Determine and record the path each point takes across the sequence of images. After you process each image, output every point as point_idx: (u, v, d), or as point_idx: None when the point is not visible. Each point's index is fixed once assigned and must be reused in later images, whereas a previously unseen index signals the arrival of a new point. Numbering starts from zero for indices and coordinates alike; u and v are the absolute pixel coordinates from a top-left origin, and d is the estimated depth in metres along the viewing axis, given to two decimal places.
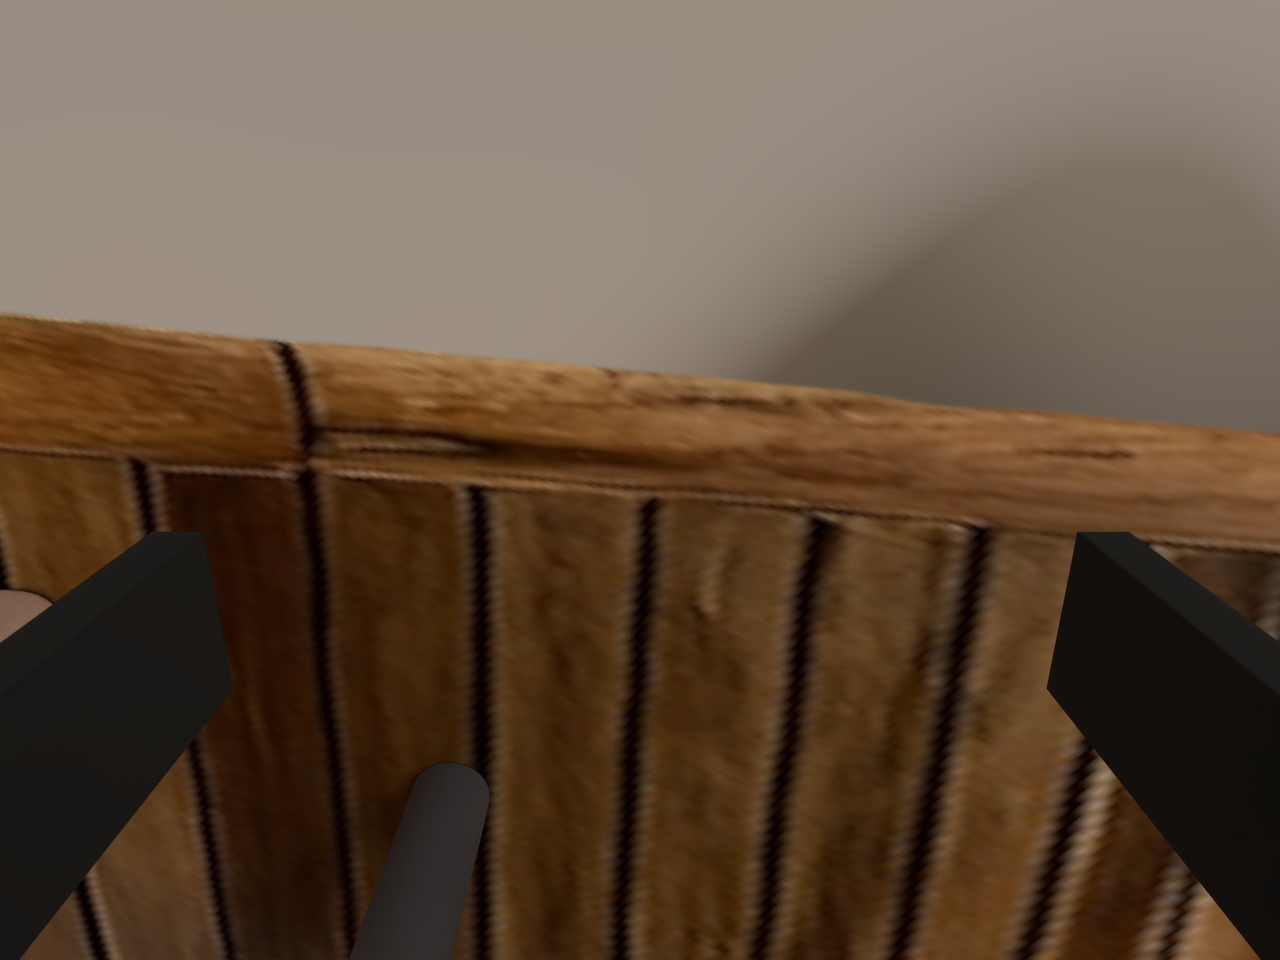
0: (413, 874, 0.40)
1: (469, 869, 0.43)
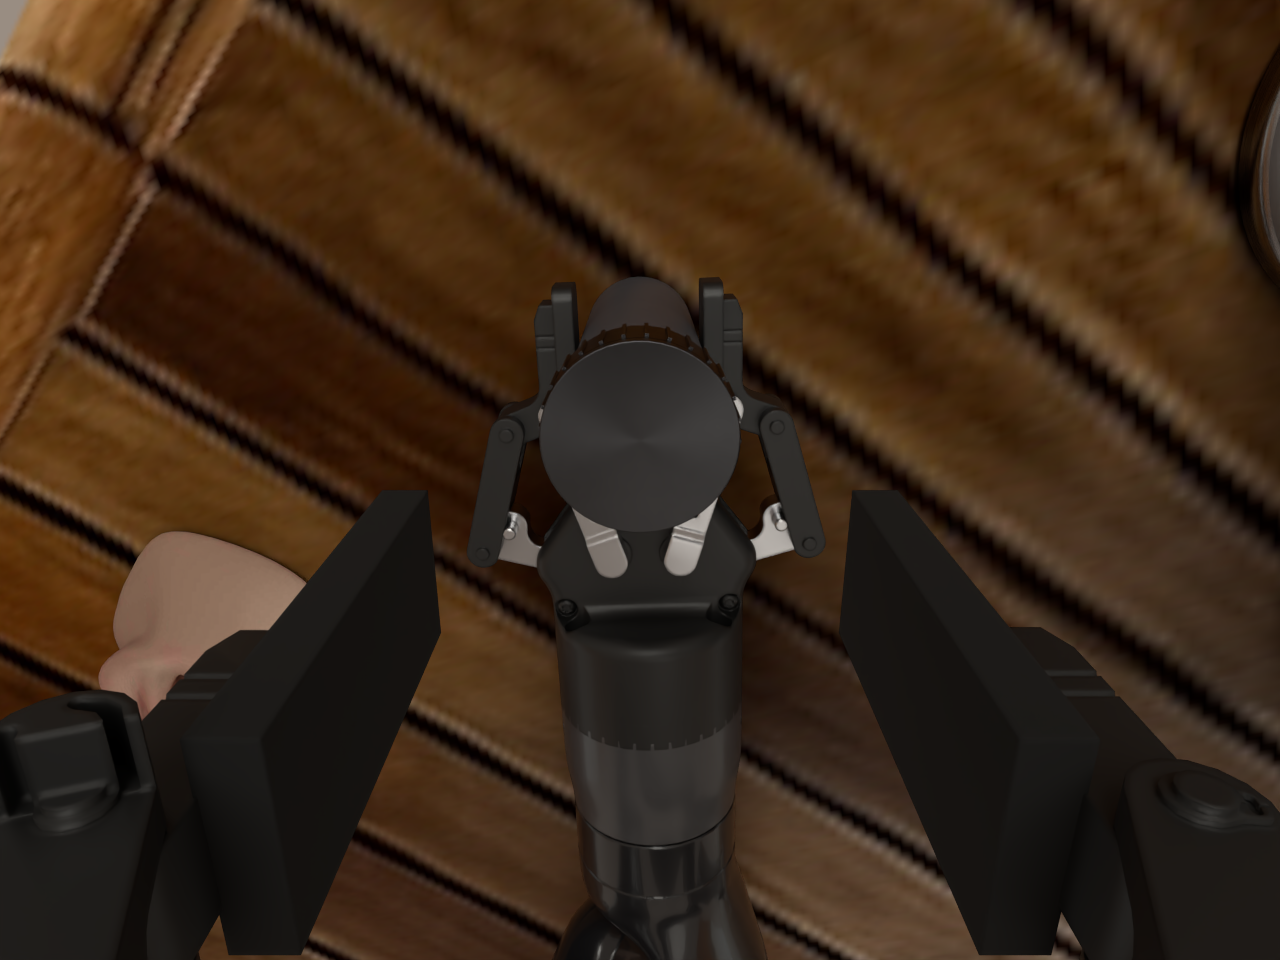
0: (586, 333, 0.28)
1: (667, 302, 0.30)
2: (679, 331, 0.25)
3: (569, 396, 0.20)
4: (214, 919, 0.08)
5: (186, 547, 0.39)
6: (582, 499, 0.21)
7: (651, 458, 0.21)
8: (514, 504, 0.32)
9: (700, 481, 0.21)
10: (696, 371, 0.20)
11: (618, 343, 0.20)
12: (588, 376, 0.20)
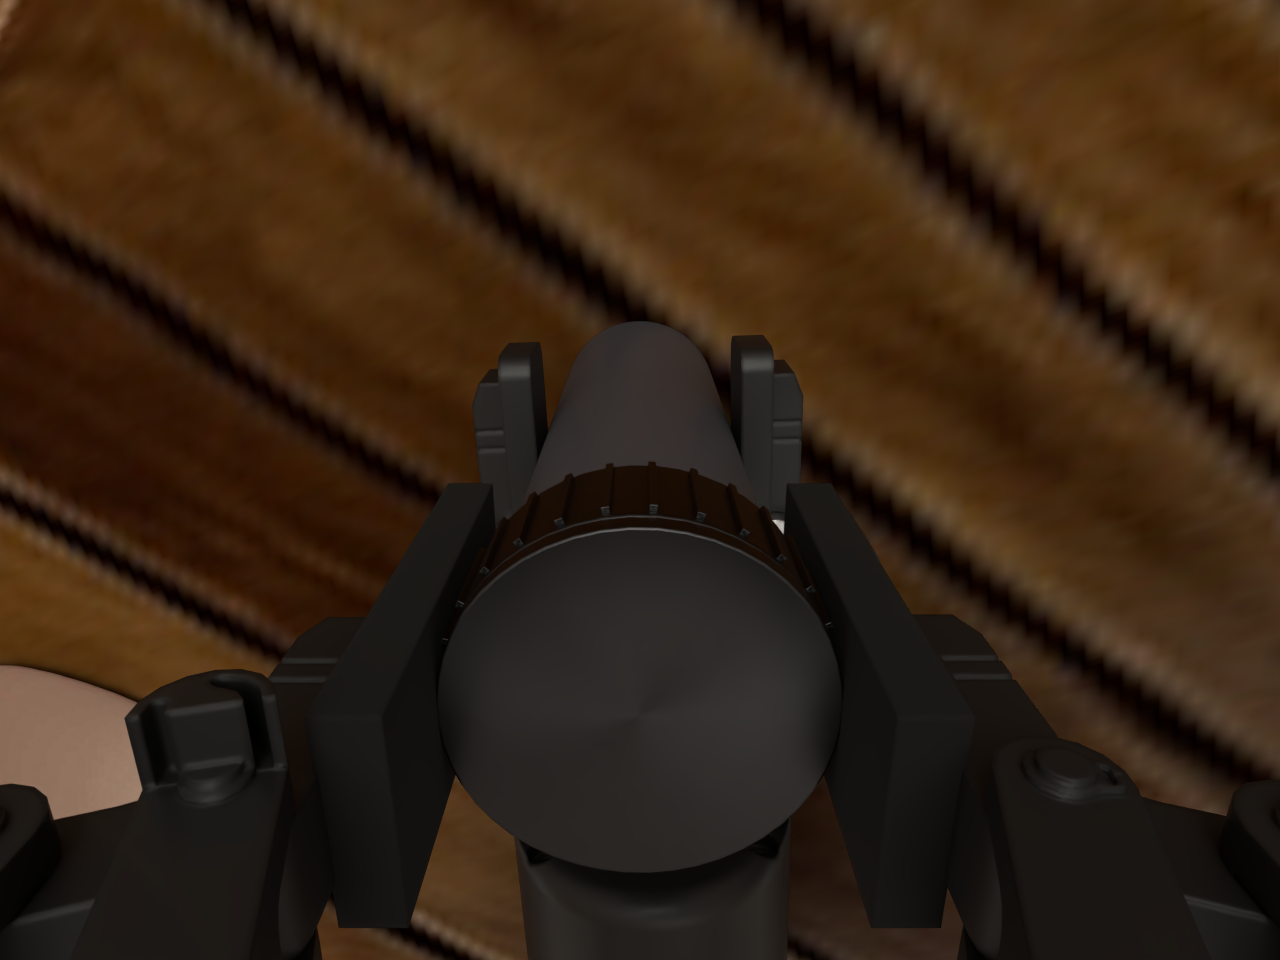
0: (552, 431, 0.17)
1: (683, 374, 0.19)
2: (708, 449, 0.14)
3: (494, 634, 0.10)
4: (329, 890, 0.09)
5: (14, 689, 0.28)
6: (526, 817, 0.11)
7: (663, 746, 0.10)
8: None
9: (760, 786, 0.11)
10: (758, 587, 0.10)
11: (594, 532, 0.10)
12: (532, 596, 0.10)
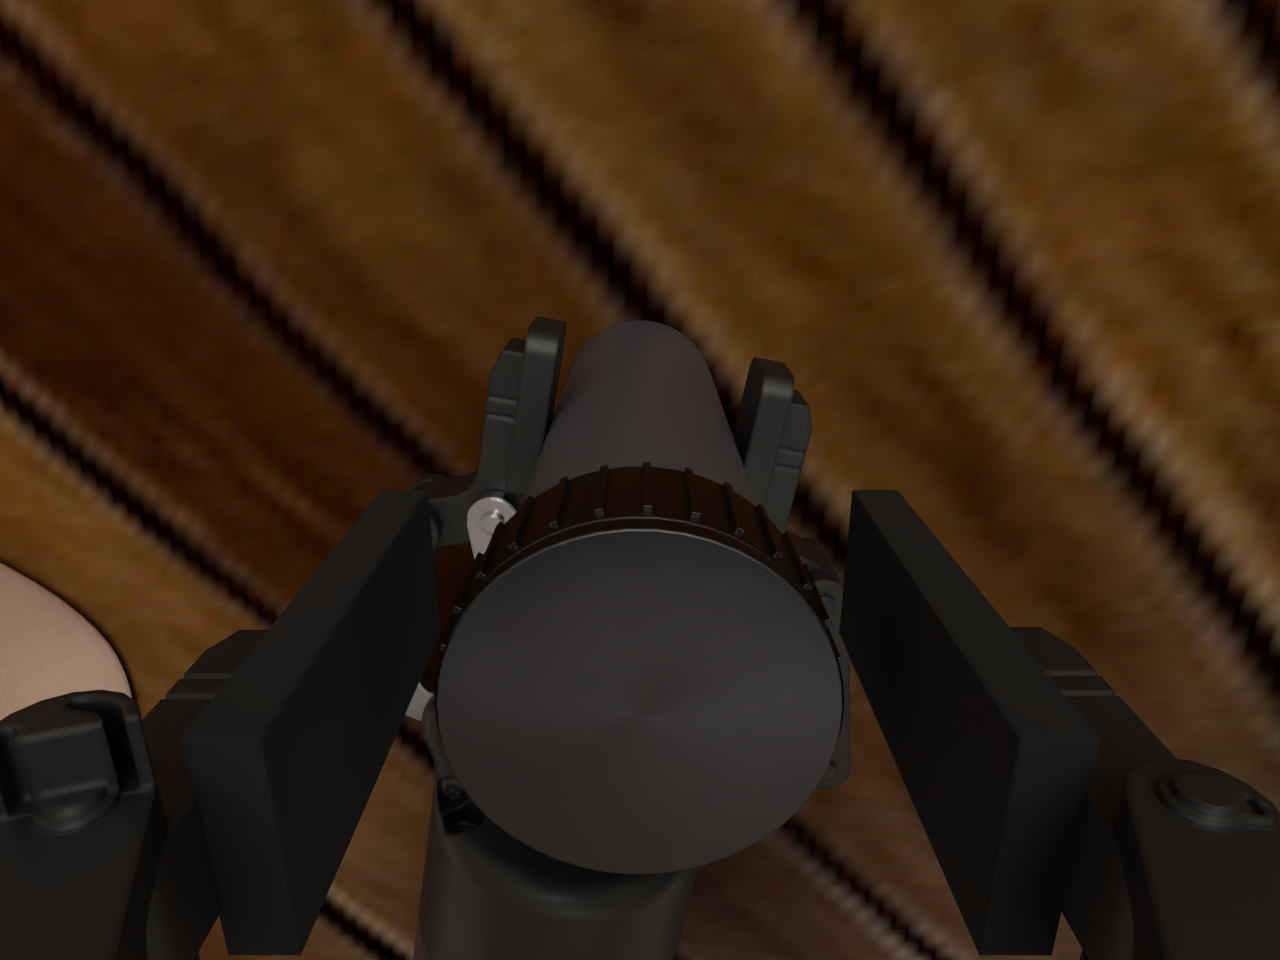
0: (568, 412, 0.17)
1: (699, 383, 0.19)
2: (729, 462, 0.14)
3: (484, 763, 0.11)
4: (213, 918, 0.08)
5: None
6: (667, 852, 0.11)
7: (683, 720, 0.10)
8: None
9: (788, 676, 0.10)
10: (588, 558, 0.10)
11: (450, 639, 0.10)
12: (472, 717, 0.10)
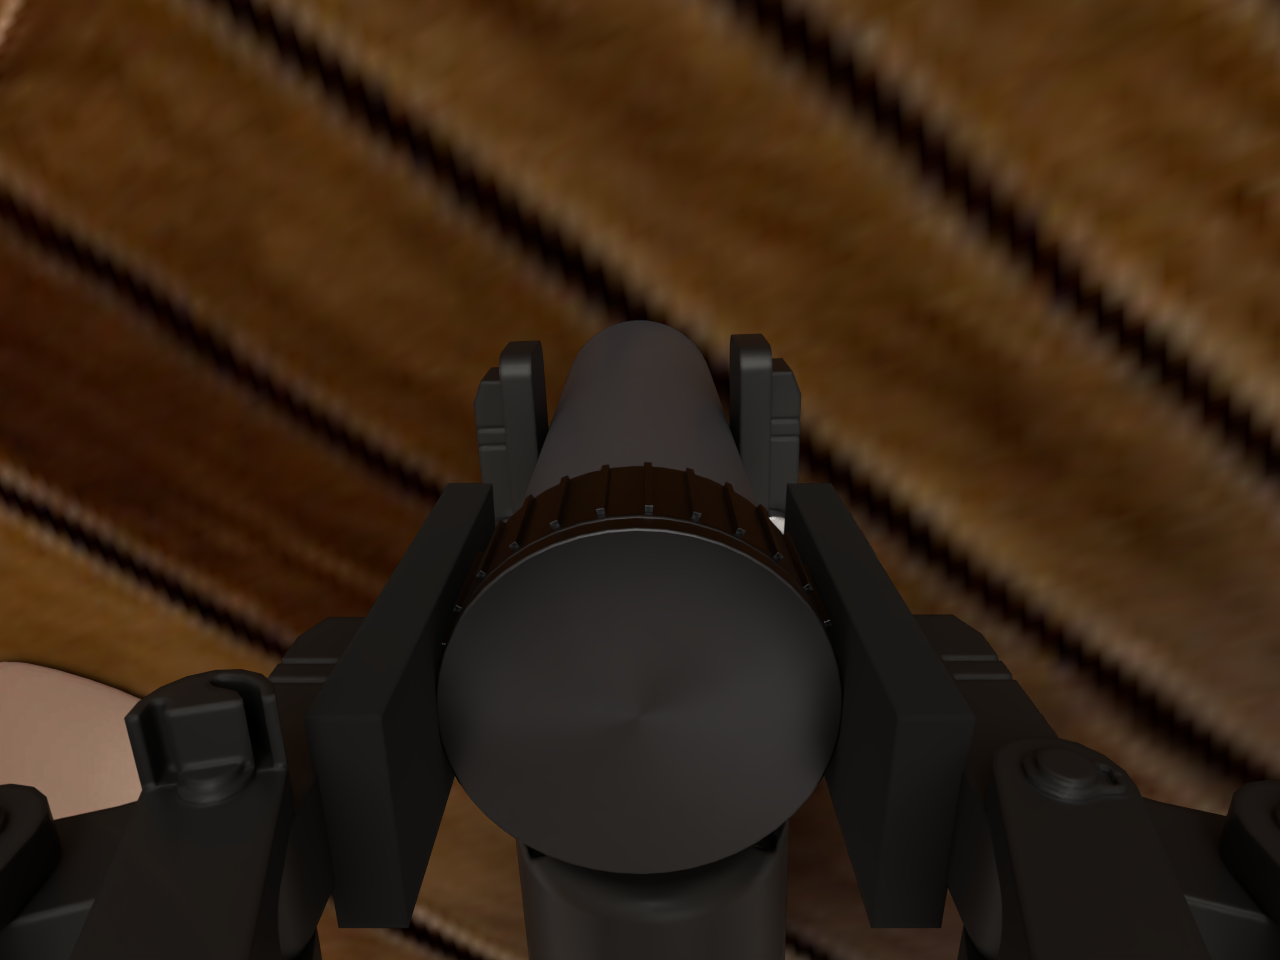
0: (553, 428, 0.17)
1: (682, 372, 0.19)
2: (707, 445, 0.14)
3: (501, 788, 0.11)
4: (329, 890, 0.09)
5: (18, 685, 0.28)
6: (701, 844, 0.11)
7: (683, 711, 0.10)
8: None
9: (775, 648, 0.10)
10: (548, 572, 0.10)
11: (439, 676, 0.10)
12: (478, 747, 0.10)
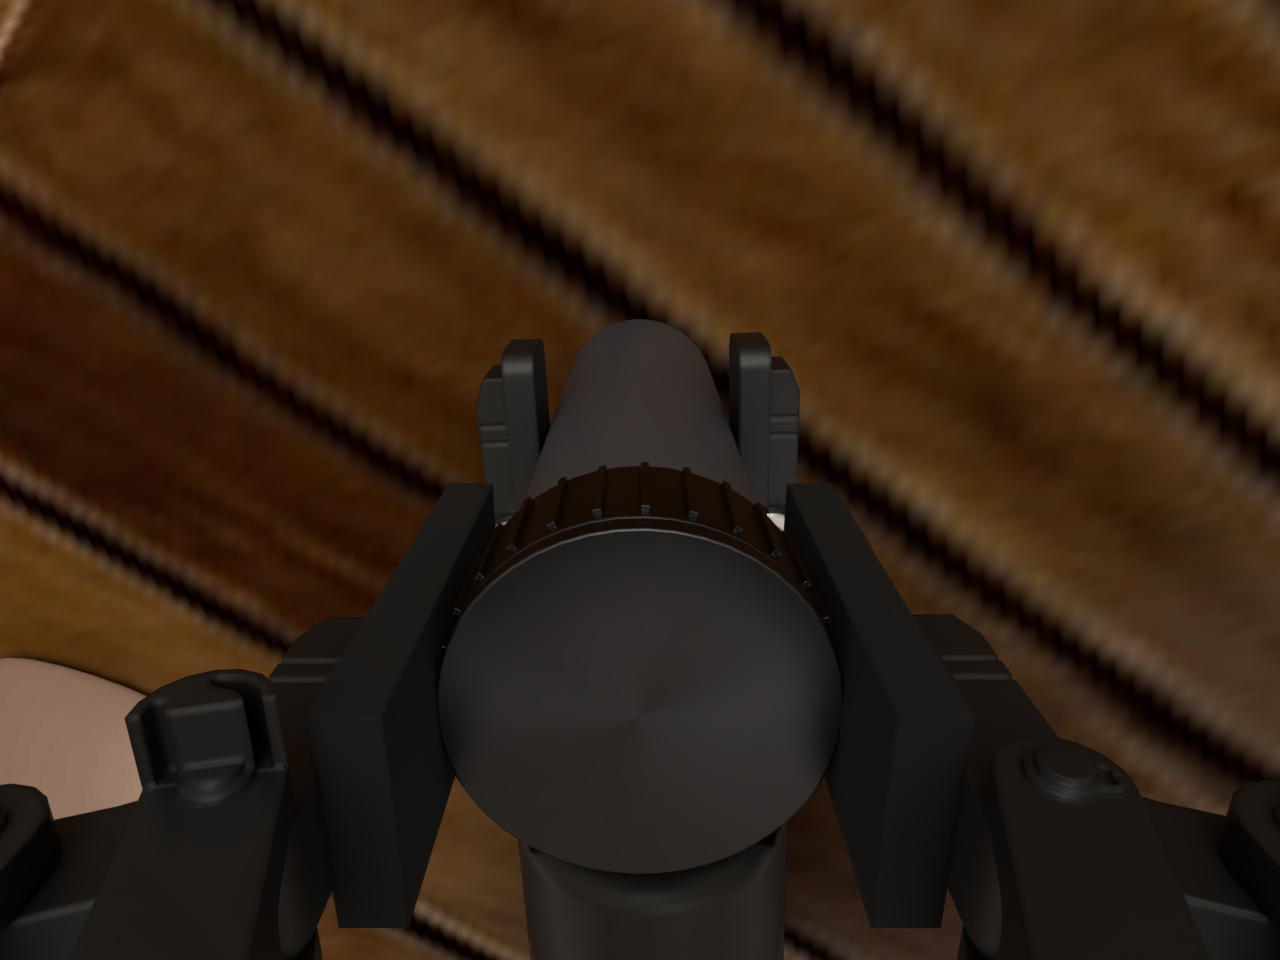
0: (554, 425, 0.18)
1: (682, 370, 0.19)
2: (707, 442, 0.15)
3: (660, 847, 0.11)
4: (329, 891, 0.09)
5: (22, 681, 0.28)
6: (814, 722, 0.10)
7: (653, 679, 0.10)
8: None
9: (623, 579, 0.10)
10: (458, 725, 0.10)
11: (525, 840, 0.11)
12: (607, 845, 0.11)
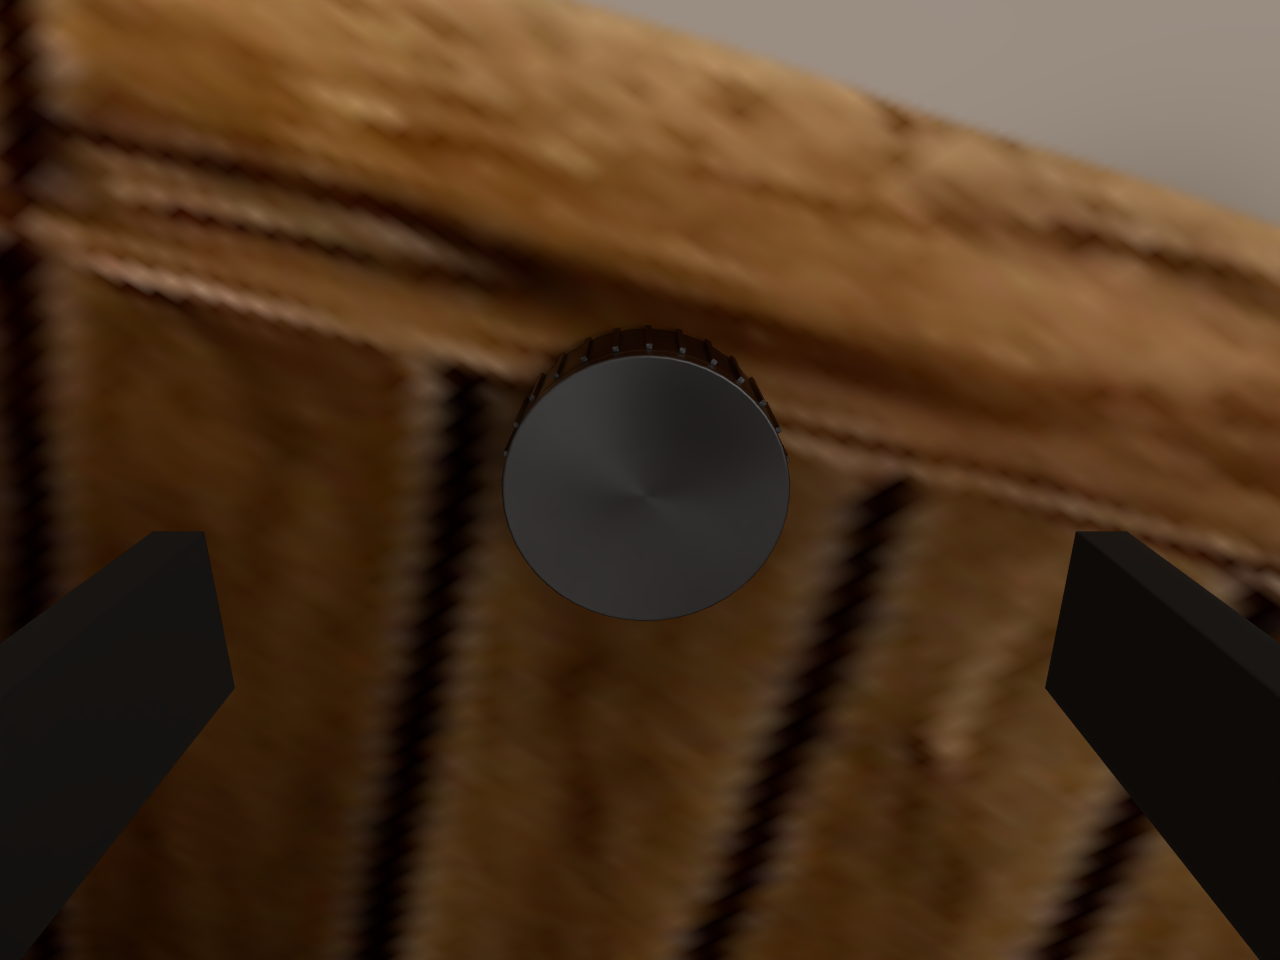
0: None
1: None
2: None
3: (660, 599, 0.15)
4: None
5: None
6: (768, 501, 0.15)
7: (655, 468, 0.14)
8: None
9: (634, 393, 0.14)
10: (518, 504, 0.15)
11: (564, 595, 0.15)
12: (623, 598, 0.15)
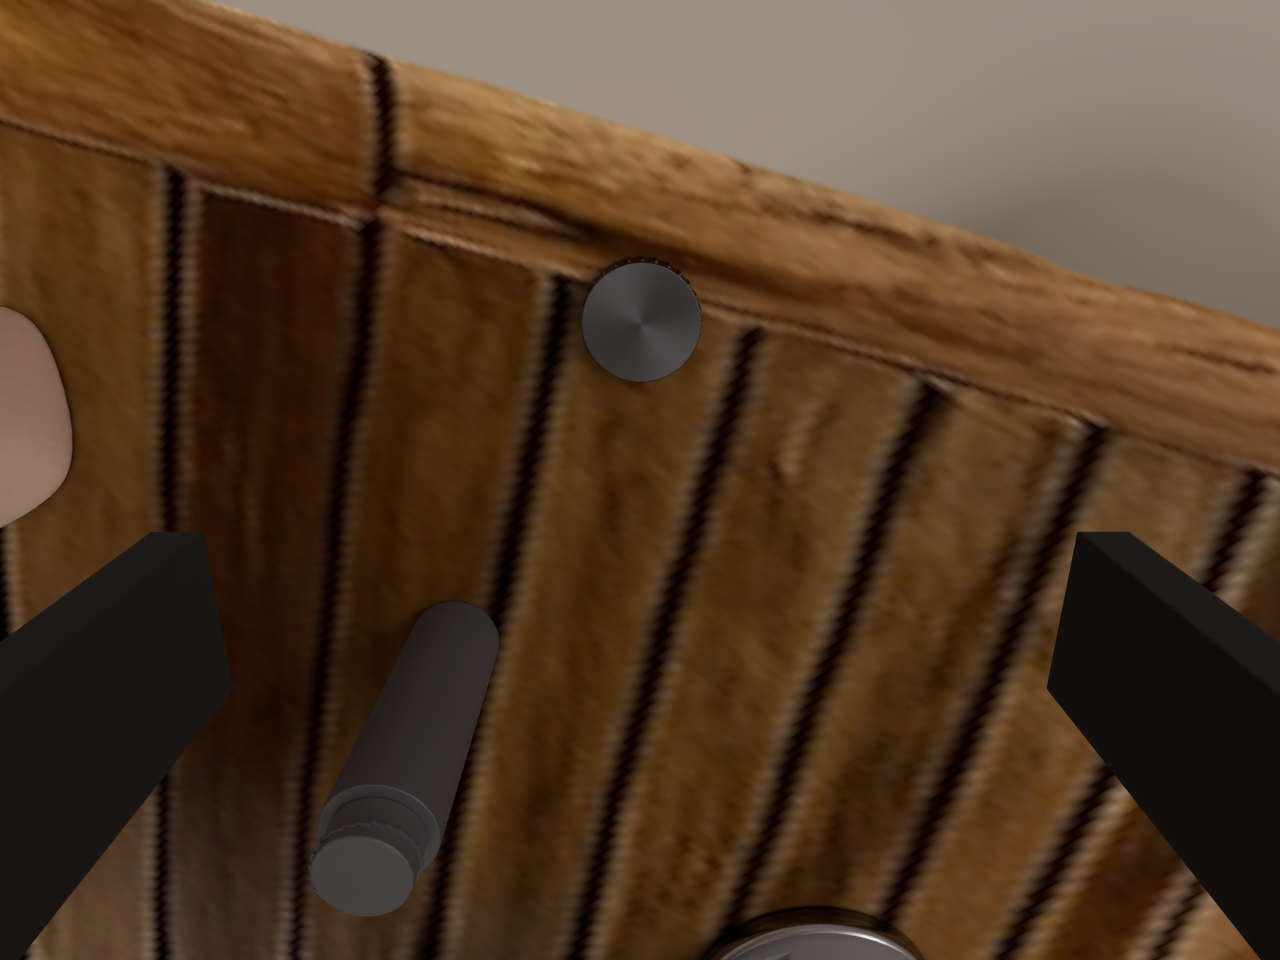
0: (422, 696, 0.35)
1: (478, 710, 0.38)
2: (453, 795, 0.33)
3: (647, 371, 0.36)
4: None
5: (30, 352, 0.37)
6: (692, 325, 0.35)
7: (645, 311, 0.35)
8: None
9: (636, 278, 0.35)
10: (588, 327, 0.35)
11: (606, 370, 0.36)
12: (631, 371, 0.36)
